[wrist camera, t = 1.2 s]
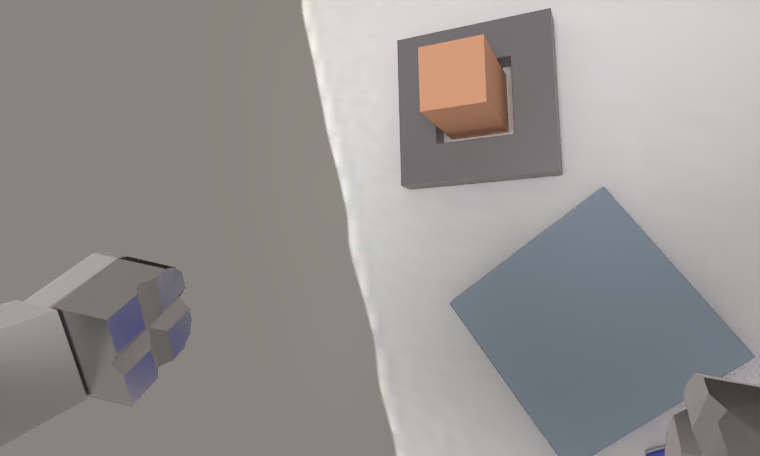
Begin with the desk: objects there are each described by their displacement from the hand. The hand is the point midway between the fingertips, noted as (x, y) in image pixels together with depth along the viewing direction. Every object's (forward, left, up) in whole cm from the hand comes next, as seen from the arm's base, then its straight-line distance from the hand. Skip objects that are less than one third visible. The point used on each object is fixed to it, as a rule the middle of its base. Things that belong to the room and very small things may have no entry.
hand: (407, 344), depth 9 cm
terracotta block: (-4, -15, -33) cm, 37 cm away
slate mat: (0, +3, -33) cm, 33 cm away
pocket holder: (-4, -15, -33) cm, 37 cm away
